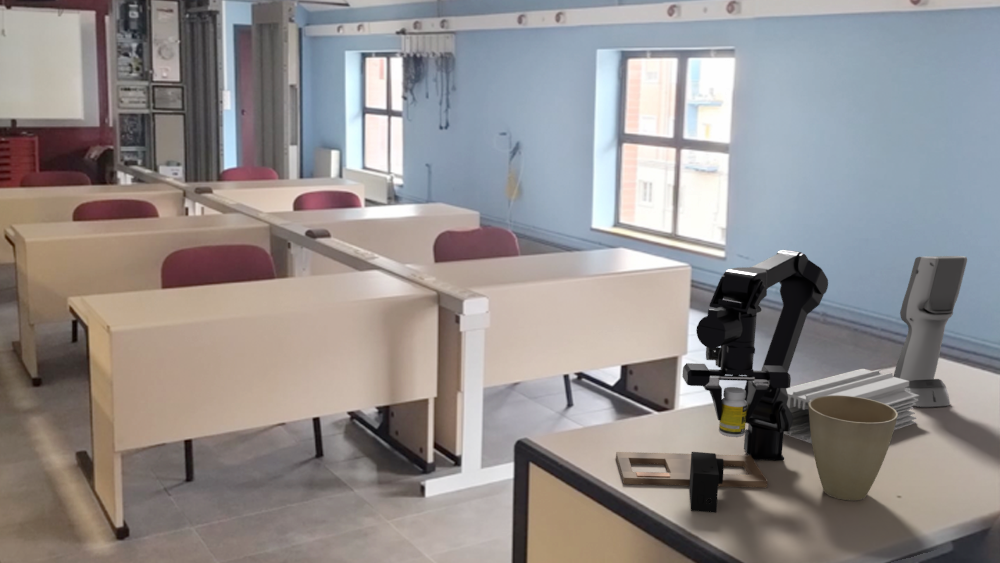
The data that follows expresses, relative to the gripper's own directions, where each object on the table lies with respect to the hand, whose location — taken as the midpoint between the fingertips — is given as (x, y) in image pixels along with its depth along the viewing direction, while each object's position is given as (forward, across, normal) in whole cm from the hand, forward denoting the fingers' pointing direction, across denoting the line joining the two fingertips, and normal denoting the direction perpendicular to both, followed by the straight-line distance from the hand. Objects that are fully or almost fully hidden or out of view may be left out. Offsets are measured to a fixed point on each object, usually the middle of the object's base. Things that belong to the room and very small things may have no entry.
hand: (732, 420), depth 186 cm
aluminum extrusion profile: (+11, -31, -29) cm, 44 cm away
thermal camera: (+10, -55, -50) cm, 75 cm away
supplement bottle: (+3, 0, 0) cm, 3 cm away
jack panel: (+10, +8, 0) cm, 13 cm away
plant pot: (+11, -19, +8) cm, 23 cm away
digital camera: (+11, +7, +13) cm, 18 cm away
